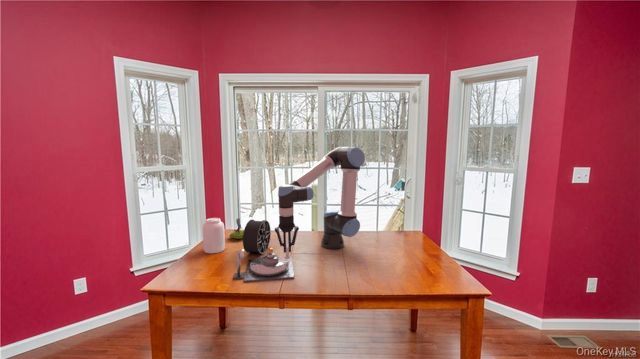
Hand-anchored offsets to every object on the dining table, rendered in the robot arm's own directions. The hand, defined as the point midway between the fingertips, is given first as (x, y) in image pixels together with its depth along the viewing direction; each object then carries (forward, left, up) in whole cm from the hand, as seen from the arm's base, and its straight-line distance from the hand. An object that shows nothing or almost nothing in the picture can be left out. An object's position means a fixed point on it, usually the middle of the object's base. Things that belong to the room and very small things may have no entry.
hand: (287, 257), depth 143 cm
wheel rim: (+17, -25, -6) cm, 31 cm away
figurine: (+32, -52, -6) cm, 61 cm away
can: (+44, -32, -6) cm, 55 cm away
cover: (+9, 0, -2) cm, 9 cm away
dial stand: (+24, +6, -6) cm, 26 cm away
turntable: (+9, 0, -4) cm, 10 cm away
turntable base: (+9, 0, -6) cm, 11 cm away
